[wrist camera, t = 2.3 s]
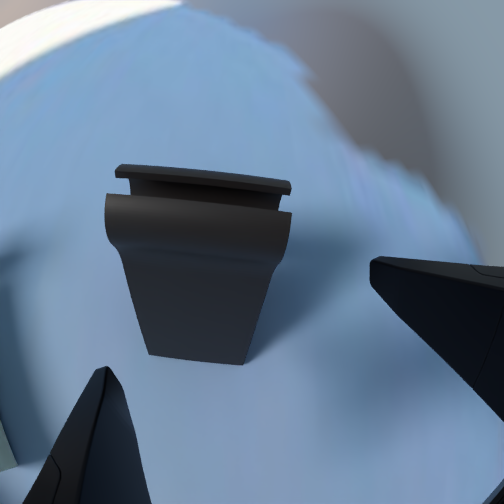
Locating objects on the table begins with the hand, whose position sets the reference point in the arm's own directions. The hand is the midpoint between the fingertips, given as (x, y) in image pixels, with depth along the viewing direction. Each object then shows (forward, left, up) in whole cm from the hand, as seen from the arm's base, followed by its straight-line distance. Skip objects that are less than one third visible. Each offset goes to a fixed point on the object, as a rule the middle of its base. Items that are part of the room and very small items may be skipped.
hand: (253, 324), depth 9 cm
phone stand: (+4, -2, -11) cm, 12 cm away
